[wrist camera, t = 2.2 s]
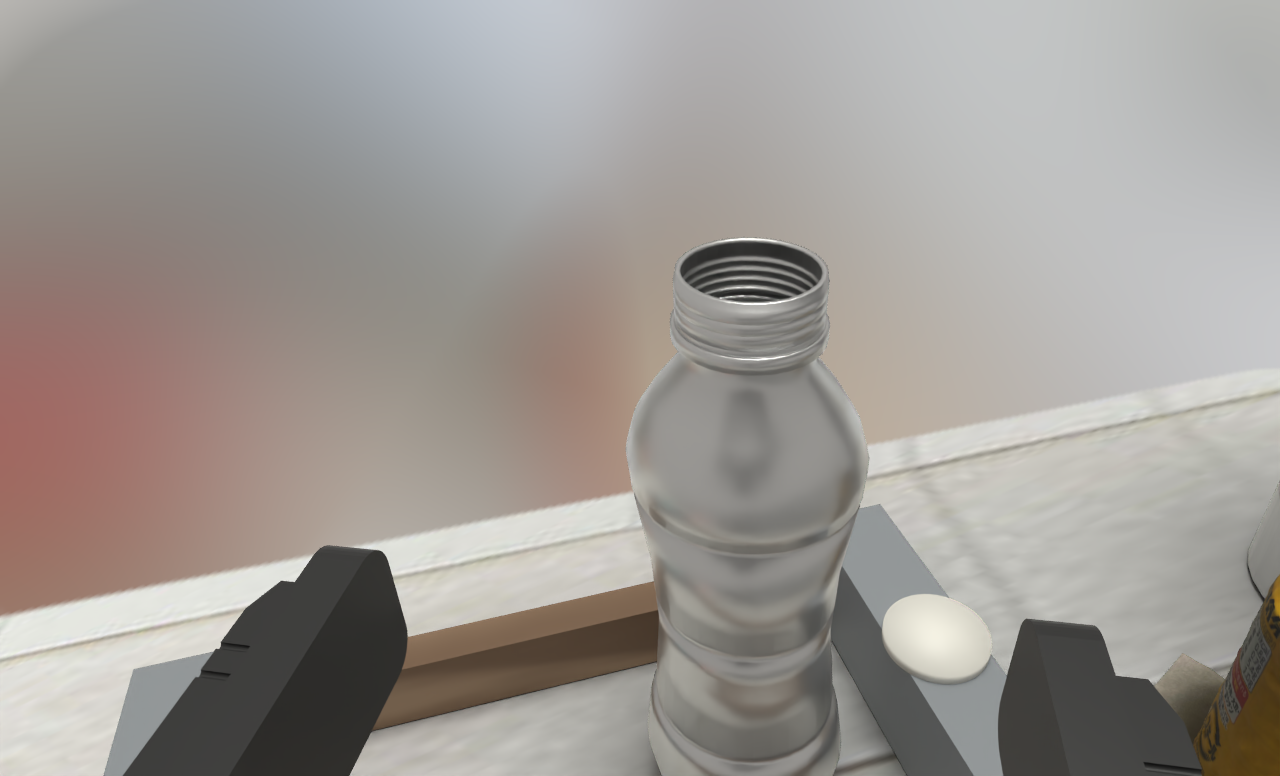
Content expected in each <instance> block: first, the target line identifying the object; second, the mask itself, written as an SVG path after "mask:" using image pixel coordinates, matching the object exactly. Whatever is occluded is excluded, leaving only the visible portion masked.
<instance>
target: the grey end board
mask: <svg viewBox="0 0 1280 776" xmlns="http://www.w3.org/2000/svg"><path fill="white" fill-rule="evenodd" d="M212 654H213V652H210V653H205V654H201V655H196V656H192V657H187V658H183V659H178V660H174V661H169V662H165V663H160V664H156V665H151V666H147V667H142V668H138V669H134V670H133V673H132V677H131V680H130V684H129V687H128V691H127V694H126V698H125V701H124V705H123V708H122V712H121V716H120V719H119V723H118V726H117V730H116V733H115V737H114V740H113V744H112V747H111V751H110V754H109V758H108V761H107V765H106V768H105V772H104V775H103V776H123V774H124V773H125V772H126V770H127V769H128V768H129V766H130V765H131V764H132V762H133V761H134V759H135V758H136V757H137V755H138V754H139V753H140V751H141V750H142V749H143V747H144V746H145V745H146V743H147V742H148V740H149V739H150V738H151V736H152V735H153V734H154V732H155V731H156V730H157V728H158V727H159V726H160V724H161V723H162V721H163V720H164V719H165V717H166V716H167V715H168V713H169V712H170V711H171V709H172V708H173V707H174V705H175V704H176V702H177V701H178V700H179V698H180V697H181V696H182V694H183V693H184V692H185V690H186V689H187V688H188V686H189V685H190V683H191V682H192V681H193V679H194V678H195V677H199V676H200V674H201V668H202V667H203V666H204V664H205V663H206V662H207V660H208V659H209V658H210V656H211V655H212Z"/></svg>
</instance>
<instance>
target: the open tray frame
mask: <svg viewBox="0 0 1280 776" xmlns="http://www.w3.org/2000/svg"><path fill="white" fill-rule="evenodd" d="M658 630H659V612H658V605H657V598H656V590H655V584H654V581H653V582H649V583H645V584H640V585H636V586H631V587H627V588H622V589H618V590H614V591H609V592H605V593H600V594H596V595H592V596H587V597H583V598H578V599H574V600H570V601H565V602H561V603H556V604H552V605H548V606H543V607H539V608H534V609H530V610H526V611H521V612H517V613H512V614H508V615H504V616H499V617H495V618H490V619H486V620H482V621H477V622H473V623H468V624H464V625H460V626H455V627H451V628H446V629H442V630H438V631H433V632H429V633H424V634H420V635H416V636H411V637H408V641H407V651H406V657H405V661H404V665H403V668H402V671H401V673H400V675H399V678H398V680H397V682H396V684H395V685H394V687H393V689H392V691H391V693H390V695H389V697H388V699H387V701H386V703H385V705H384V707H383V709H382V711H381V713H380V715H379V717H378V719H377V721H376V723H375V725H374V727H373V729H372V731H373V730H377V729H382V728H386V727H390V726H394V725H398V724H402V723H406V722H410V721H414V720H418V719H422V718H427V717H431V716H435V715H439V714H443V713H447V712H451V711H455V710H459V709H463V708H468V707H472V706H476V705H480V704H484V703H488V702H492V701H496V700H500V699H504V698H508V697H513V696H517V695H521V694H525V693H529V692H533V691H537V690H541V689H545V688H549V687H554V686H558V685H562V684H566V683H570V682H574V681H578V680H582V679H586V678H590V677H595V676H599V675H603V674H607V673H611V672H615V671H619V670H623V669H627V668H631V667H635V666H640V665H644V664H648V663H652V662H656V661H657V652H658Z"/></svg>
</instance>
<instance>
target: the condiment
mask: <svg viewBox="0 0 1280 776" xmlns="http://www.w3.org/2000/svg"><path fill="white" fill-rule="evenodd" d="M1154 687H1155V688H1156V689H1157V690H1158V692H1159V693H1160V694H1161V695H1162V696H1163V698H1164V699H1165V700H1166V701H1167V702H1168V704H1169V705H1170V706H1171V707H1172V708H1173V710H1174V711H1175V712H1176V713H1177V714H1178V715H1179V717H1180V718H1181V719H1182V720H1183V721H1184V723H1185V726H1186V728H1187V731H1188V734H1189V736H1190V739H1191V742H1192V744H1193V747H1194V750H1195V752H1196V755H1197V757H1198V760H1199V763H1200V765H1201V768H1202V771H1201V774H1202V776H1280V575H1279V576H1278V577H1277V578H1276V579H1275V581H1274V582H1273V584H1272V585H1271V587H1270V588H1269V591H1268V594H1267V596H1266V598H1265V600H1264V602H1263V604H1262V606H1261V608H1260V611H1259V612H1258V615H1257V616H1256V618H1255V619H1254V621H1253V622H1252V625H1251V628H1250V631H1249V633H1248V635H1247V637H1246V639H1245V640H1244V643H1243V645H1242V647H1241V648H1240V649H1239V651H1238V654H1237V657H1236V659H1235V661H1234V662H1233V665H1232V667H1231V669H1230V671H1229V673H1228V675H1227V677H1226V679H1224V678H1223V677H1221V676H1220V675H1218V674H1217V673H1215V672H1214V671H1213V670H1211V669H1210V668H1208V667H1206V666H1204V665H1202V664H1200V663H1199V662H1197V661H1195V660H1194V659H1192V658H1190V657H1189V656H1187V655H1185V654H1182V655H1181V656H1180V657H1179V658H1178V659H1177V660H1176V661H1175V663H1174V664H1173V666H1172V667H1171V668H1170V669H1169V670H1168V671H1167V672H1166V674H1165V675H1164V676H1163V677H1162V678H1161V679H1160V680H1159V682H1158V683H1157V684H1156V685H1155V686H1154Z"/></svg>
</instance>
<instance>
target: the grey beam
mask: <svg viewBox="0 0 1280 776" xmlns="http://www.w3.org/2000/svg"><path fill="white" fill-rule="evenodd" d="M831 640H832V642H833V643H834V645H835V647H836V649H837V651H838V652H839V654H840V656H841V658H842V660H843V661H844V663H845V665H846V667H847V669H848V670H849V672H850V674H851V676H852V678H853V679H854V681H855V683H856V685H857V686H858V688H859V690H860V692H861V694H862V695H863V697H864V699H865V701H866V703H867V704H868V706H869V708H870V710H871V712H872V713H873V715H874V717H875V719H876V721H877V722H878V724H879V726H880V728H881V729H882V731H883V733H884V735H885V737H886V738H887V740H888V742H889V744H890V746H891V747H892V749H893V751H894V753H895V755H896V756H897V758H898V760H899V762H900V764H901V765H902V767H903V769H904V771H905V772H906V774H907V776H1003V771H1002V766H1001V760H1000V753H999V744H998V714H999V705H1000V700H1001V696H1002V692H1003V689H1004V685H1005V681H1006V678H1007V675H1006V674H1005V672H1004V671H1003V670H1002V668H1001V667H1000V666H999V664H998V663H997V662H996V660H995V659H994V658H993V656H992V655H991V650H992V638H991V635H990V632H989V630H988V628H987V626H986V624H985V623H984V621H983V620H982V619H981V618H980V617H979V616H978V615H977V614H976V613H975V612H974V611H973V610H971V609H970V608H969V607H967V606H965V605H964V604H962V603H960V602H958V601H956V600H953V599H951V598H949V597H948V595H947V594H946V593H945V591H944V590H943V589H942V587H941V586H940V585H939V583H938V582H937V580H936V579H935V578H934V576H933V575H932V574H931V572H930V571H929V570H928V568H927V567H926V566H925V564H924V563H923V562H922V560H921V559H920V558H919V556H918V555H917V553H916V552H915V551H914V549H913V548H912V547H911V545H910V544H909V543H908V541H907V540H906V539H905V537H904V536H903V535H902V533H901V532H900V530H899V529H898V528H897V526H896V525H895V524H894V522H893V521H892V520H891V518H890V517H889V516H888V514H887V513H886V512H885V510H884V509H883V508H882V506H881V505H880V504H878V505H874V506H869V507H865V508H860V509H859V511H858V514H857V517H856V521H855V524H854V527H853V531H852V534H851V537H850V541H849V544H848V547H847V550H846V554H845V557H844V560H843V564H842V567H841V570H840V575H839V581H838V588H837V594H836V600H835V606H834V611H833V618H832V624H831Z"/></svg>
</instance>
